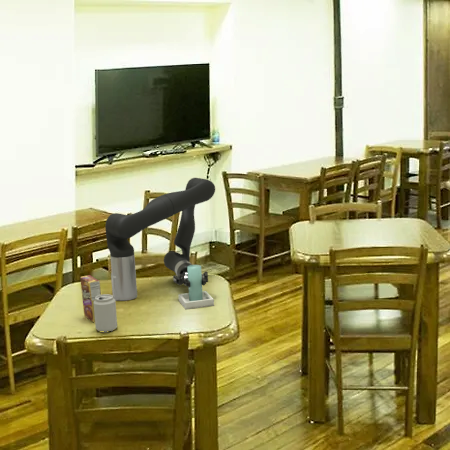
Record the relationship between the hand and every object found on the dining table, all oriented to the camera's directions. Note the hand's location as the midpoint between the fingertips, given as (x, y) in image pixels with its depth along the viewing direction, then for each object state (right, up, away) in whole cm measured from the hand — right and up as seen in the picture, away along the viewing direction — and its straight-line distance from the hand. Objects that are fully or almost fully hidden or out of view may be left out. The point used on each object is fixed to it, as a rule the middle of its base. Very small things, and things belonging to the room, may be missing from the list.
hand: (196, 283), depth 287 cm
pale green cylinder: (0, -6, +4) cm, 7 cm away
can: (-31, -15, -19) cm, 39 cm away
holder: (0, -8, +4) cm, 9 cm away
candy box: (-37, -12, -8) cm, 40 cm away
